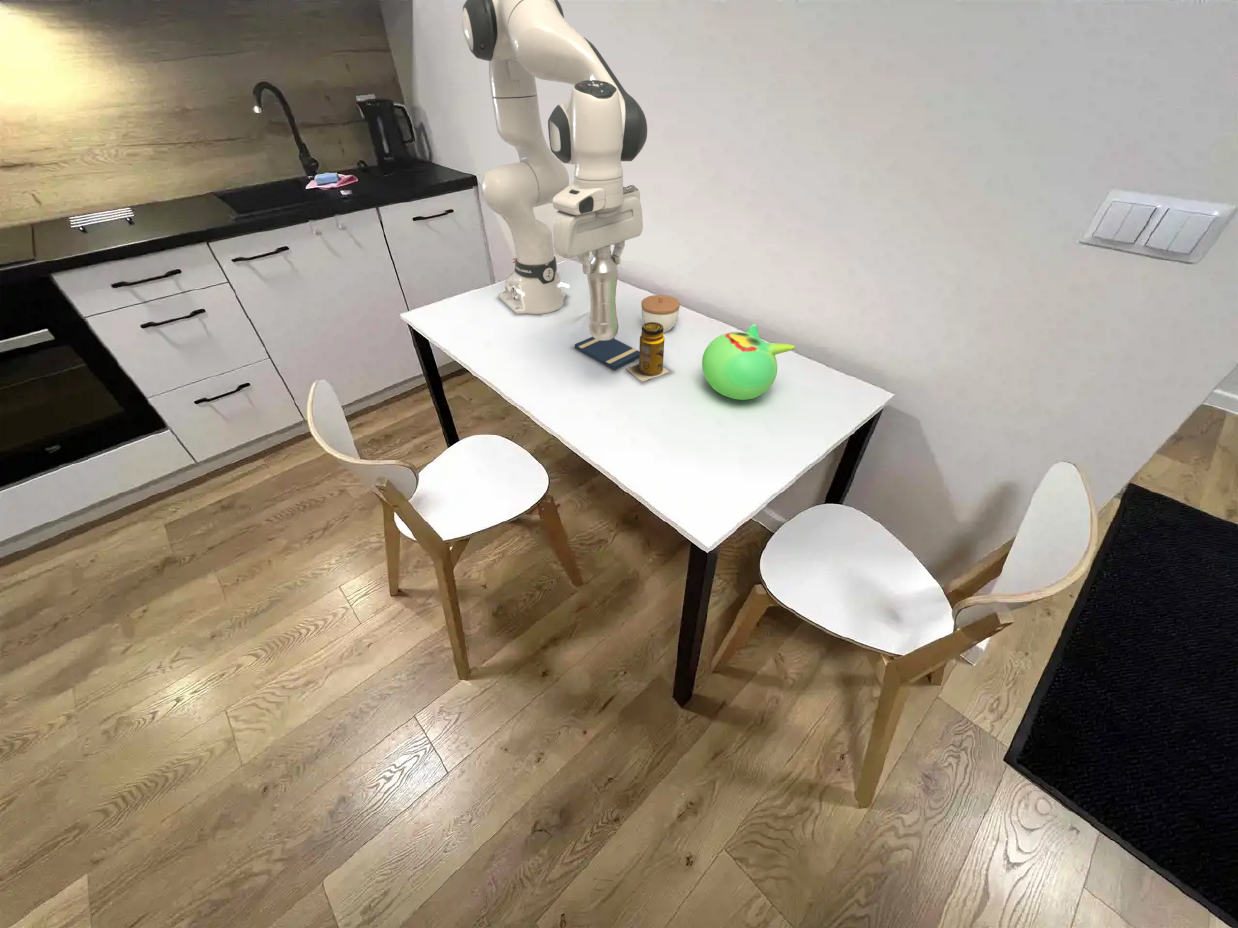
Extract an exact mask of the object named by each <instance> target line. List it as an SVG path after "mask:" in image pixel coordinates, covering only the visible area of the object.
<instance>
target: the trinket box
mask: <svg viewBox="0 0 1238 928" xmlns="http://www.w3.org/2000/svg"><path fill="white" fill-rule="evenodd" d="M680 305H681V302H680V301H679V300H678V299H677V298H675V297H673V296H670V295H665V294H654V295H649V296H647V297H644V298H643V299H642V300H641V303H640V306H641V307H640V308H641V319H642V322H643V325H644V324H645V323H649V322H656V323H660V324H661V325H662V326H663V328H664V330H663V333H664V334H665V333H668V332H669V331H670V330H671V329H672V328H673V327H674V326H675V325H676V323H677V321H678V318H679V313H680V307H681V306H680Z"/></svg>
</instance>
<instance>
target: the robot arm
mask: <svg viewBox="0 0 1238 928" xmlns="http://www.w3.org/2000/svg"><path fill="white" fill-rule="evenodd" d="M461 16H462V19H461V23H462V24H461V26H462V32H463V36H464V40H465V42H466V44H467V45H468V49H469V51H470V52H471V53H472V54H473V56H474V57H475V58H476V59H479V60H482V61H487V62H488V75H489V76H488V77H489V86H490V93H491V101H492V106H493V113H494V119H495V120H494V121H495V124H496V131H497V134H498V135H499V137H500V138H501V139H502V141H503V142H505V143H506V144H508V145H510V146H512V147H514V148H515V150H516V152H517V154H518V157H519V162H513V163H507V164H502V165H498V166H497V167H494V168H492V169H490V170H488V171H486V172H485V173H484V174H483V175H482V178H481V183H480V186H481V187H480V189H481V195H482V198H483V200H484V203H485V204H486V205H487V206H488V208H490V210H491V211H493V212H494V213H496V214H498V215H499V216H500V217H501V218H502V219H503V220H504V222H505V223H506V224H507V225H508V228H509V230H510V233H511V236H512V241H513V245H514V251H515V256H516V257H515V258H512V263H513V264H514V270H513V271H512V272H511V274H509V275H508V276H507V277H506V278H505V280H504V288H505V289H504V290H503V291H502V292H500V294H499V295H498V297H499V299H500V300H501V301H502V302H503V303H504V304H505V305H506V306H507V307H508V308H509V309H510V310H511V311H512V312H514V314H516V315H523V314H529V315H543V314H548V313H549V314H550V313H553V312H556V311H558V310H560V309H562V308H563V306H564V304H565V301H564V300H565V299H566V296H567V295H566V292H563V287H564V288H567V289H569V288H570V284H567V283H564V282H561V276H560V273H559V272H558V271H557V270H558V267H557V265H558V262H557V259H556V256H555V252H556V254H558V255H559V256H561V257H563V258H566V259H573V258H575V257H576V258H577V259H578V260H579V262H580V264H581V265H582V273H583V274H584V275H586V276H587V275H590V274H592V273H594V270H593V269H594V265H593V264H590V262H589V260H588V259H589V258H590V252H591V253H592V251H594V250H597V249H600V248H603V247H607V246H609V245H610V246H614V247H613V249H612V252H611V255H610V257H611V259H612V260H613V261H614V263H615V264H616V266H618V265H620V264H621V256H622V253H623V251H624V249H625V247H626V241H628V240H632V239H634V238H638V237H640V236H641V235H642V232H643V229H644V225H643V224H644V222H643V210H642V204H641V193H640V190H639V188H638V187H636V186H635V185H634V184H629V185H627V186H624V170H623V166H622V162H633V161H634V159H636V158H637V156H638V155H639V154H640V153H641V151H642V150H643V148H644V146H645V144H646V142H647V138H648V123H647V118H646V114H645V112H644V111H643V109H642V107H641V105H640V104H639V103H638V102H637V100H636V99H635V98H634V97H633V96H631V95H630V94H629V93H628V91H626V90H625V88H624V87H623V86H622V84H621V82H620V81H619V79H618V78H617V76H616V75H615V74H614V72H613V71H612V69H611V68H610V66H609V64H608V63H607V62H606V60H605V59H604V57H603V56H602V54H601V53H600V52H599V50H598V49H597V48H596V46H595V45H594V44H593V43H592V41H590V40H589V39H587V38H586V37H584V36H582V34H580V33H579V32H578V30H576V29H574V28H573V27H572V25H571V24H570V23H568V21H567V20H566V19H565V16H564V11H563V8H562V5H561V3H560V2H559V0H465V2H464V4H463V6H462V15H461ZM536 78H537V79H539V80H542V81H550V82H556V83H557V82H558V83H563V84H569V85H572V88H571V93H570V98H569V99H567V100H566V101H565V102H563V103H560V104H557V105H556V106H555V108H554V109H553V110H552V112H551V113H550V115H549V118H548V119H547V129H548V141H549V145H548V143H547V140H546V137H545V135H544V130H543V127H542V120H541V114H540V107H539V98H538V97H539V96H538V90H537V88H538V87H537V83H536ZM565 164H567V165H574V173H573V175H574V176H573V179H574V180H573V181H572V182H571V183H570V176H569V172H568V170H567V168H566V166H565ZM548 204H552V207H553V209H555V210H556V212H555V213H554V216H553V222H552V230H551V228H550V227H549V226H548V225H547V224H546V223H545V222H542V221H541V220H538V219H537V218H536V216H535V213H534V208H537V207H541V206H545V205H548ZM554 250H555V251H554Z"/></svg>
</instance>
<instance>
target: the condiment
mask: <svg viewBox="0 0 1238 928" xmlns="http://www.w3.org/2000/svg"><path fill="white" fill-rule="evenodd" d="M663 330H664V328H663V326H662V325H661V324H660V323H656V322H649V323H645V324H644V323H643V324H642V326H641V333H640V336H639V350H638V351H639V359H638V362H639V363H638V364H637V363H636V364H634V365H633V366H629V367H626V368H625V369H626V370H627V371H628V372H629V373H630V374H631V375H632V376H634V377H635V378H637V379H638V380H639V381H640V382H646V381H649V380H651V379H654V378H658V377H661V376H662V375H666V374H669V373H670V370H668V369H667V368H665V367H664V357H665V356H664V354H665V339H666V338H665V335H664V334H665V333H663Z"/></svg>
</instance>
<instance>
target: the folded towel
mask: <svg viewBox="0 0 1238 928" xmlns="http://www.w3.org/2000/svg"><path fill="white" fill-rule="evenodd" d="M574 349H575V350H577V351H579V352H580V353H583V354H584V355H585V356H588V357H589V358H591V359H593V360H595V361H596V362H598V363H600V364H602V365H603V366H605V367H607V368H609V369H611V370H613V371H617V370H618V369H620V368H622V367H625V366H627V365H629V364H630V363H633V362H635V361H637V360H639V351H640V350H638V349H637V348H635V347H631V346H630V345H628V344H626V343H624V342H621V341H620V340H618V339H616V338H615V337H614V338H613V339H611V340H606V341H602V340H597V339H595V338H593V336H591V337H588V338H586V339H584V340H581V341H578V342H577V343H574Z"/></svg>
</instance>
